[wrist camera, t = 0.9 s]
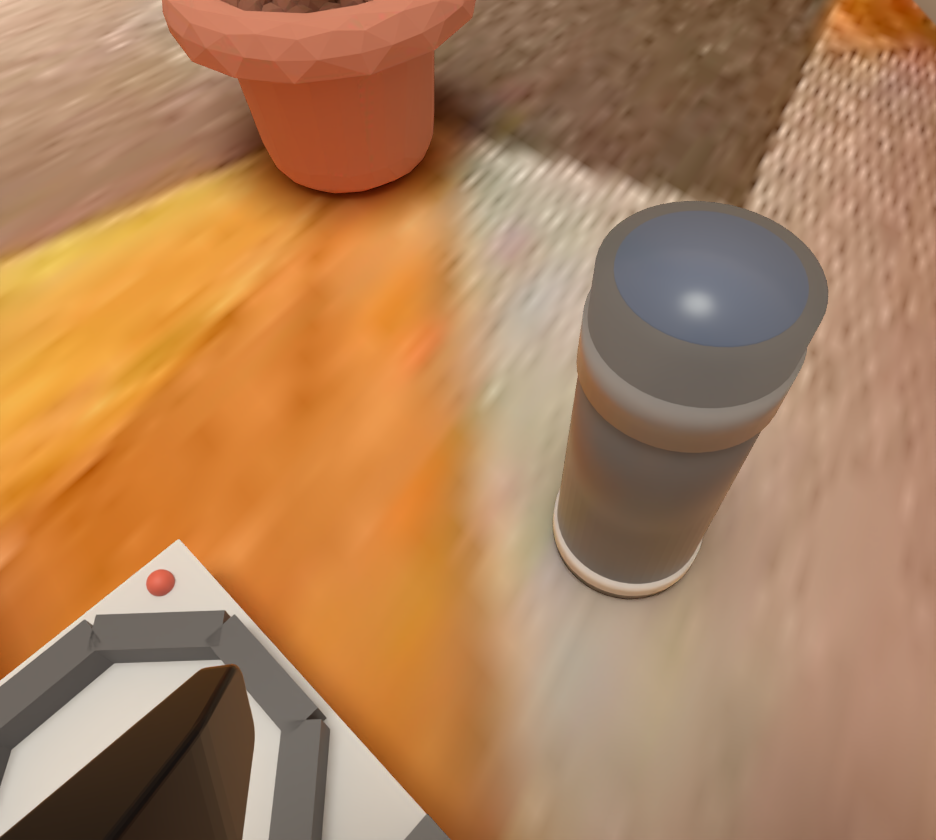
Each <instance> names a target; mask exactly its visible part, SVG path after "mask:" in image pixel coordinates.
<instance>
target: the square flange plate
mask: <svg viewBox="0 0 936 840" xmlns="http://www.w3.org/2000/svg"><path fill="white" fill-rule="evenodd" d="M228 664H235V665H237V666H238V667H239V668H240V670H241V672H242V674H243V678H244V682H245V687H246V691H247V695H248V699H249V704H250V708H251V712H252V717H253V721H254V728H255V744H254V752H253V760H252V768H251V776H250V783H249V791H248V799H247V807H246V815H245V823H244V830H243V838H242V840H451V839H450V838H449V837H448V836H447V835H446V834H445V833H444V832H443V831H442V829H441V828H440V827H439V826H438V825H437V824H436V823H435V822H434V821H433V819H432V818H431V817H430V816H429V815H428V814H426V813H425V812H424V811H423V810H422V808H421V807H420V806H419V805H418V804H417V803H416V802H415V801H414V800H413V798H412V797H411V796H410V795H409V794H408V793H407V792H406V791H405V790H404V788H403V787H402V786H401V785H400V784H399V783H398V782H397V781H396V780H395V778H394V777H393V776H392V775H391V774H390V773H389V772H388V771H387V770H386V768H385V767H384V766H383V765H382V764H381V763H380V762H379V761H378V760H377V758H376V757H375V756H374V755H373V754H372V753H371V752H370V751H369V750H368V748H367V747H366V746H365V745H364V744H363V743H362V742H361V741H360V740H359V738H358V737H357V736H356V735H355V734H354V733H353V732H352V731H351V730H350V728H349V727H348V726H347V725H346V724H345V723H344V722H343V721H342V720H341V718H340V717H339V716H338V715H337V714H336V713H335V712H334V711H333V710H332V708H331V707H330V706H329V705H328V704H327V703H326V702H325V701H324V700H323V698H322V697H321V696H320V695H319V694H318V693H317V692H316V691H315V690H314V688H313V687H312V686H311V685H310V684H309V683H308V682H307V681H306V680H305V678H304V677H303V676H302V675H301V674H300V673H299V672H298V671H297V670H296V668H295V667H294V666H293V665H292V664H291V663H290V662H289V661H288V660H287V658H286V657H285V656H284V655H283V654H282V653H281V652H280V651H279V650H278V648H277V647H276V646H275V645H274V644H273V643H272V642H271V641H270V640H269V638H268V637H267V636H266V635H265V634H264V633H263V632H262V631H261V630H260V628H259V627H258V626H257V625H256V624H255V623H254V622H253V621H252V620H251V618H250V617H249V616H248V615H247V614H246V613H245V612H244V611H243V610H242V608H241V607H240V606H239V605H238V604H237V603H236V602H235V601H234V600H233V598H232V597H231V596H230V595H229V594H228V593H227V592H226V591H225V590H224V588H223V587H222V586H221V585H220V584H219V583H218V582H217V581H216V580H215V578H214V577H213V576H212V575H211V574H210V573H209V572H208V571H207V569H206V568H205V567H204V566H203V565H202V564H201V563H200V562H199V561H198V559H197V558H196V557H195V556H194V555H193V554H192V553H191V552H190V551H189V549H188V548H187V547H186V546H185V545H184V544H183V543H182V542H181V541H180V539H178V540H177V541H175V542H174V543H173V544H172V545H170V546H169V547H168V548H167V549H165V550H164V551H163V552H162V553H160V554H159V555H158V556H156V557H155V558H154V559H153V560H151V561H150V562H149V563H148V564H146V565H145V566H144V567H143V568H141V569H140V570H139V571H138V572H136V573H135V574H134V575H133V576H131V577H130V578H129V579H128V580H126V581H125V582H124V583H123V584H121V585H120V586H119V587H117V588H116V589H115V590H114V591H112V592H111V593H110V594H109V595H107V596H106V597H105V598H104V599H102V600H101V601H100V602H99V603H97V604H96V605H95V606H94V607H92V608H91V609H90V610H89V611H87V612H86V613H85V614H84V615H82V616H81V617H80V618H78V619H77V620H76V621H75V622H73V623H72V624H71V625H70V626H68V627H67V628H66V629H65V630H63V631H62V632H61V633H60V634H58V635H57V636H56V637H55V638H53V639H52V640H51V641H50V642H48V643H47V644H46V645H45V646H43V647H42V648H41V649H39V650H38V651H37V652H36V653H34V654H33V655H32V656H31V657H29V658H28V659H27V660H26V661H24V662H23V663H22V664H21V665H19V666H18V667H17V668H16V669H14V670H13V671H12V672H11V673H9V674H8V675H7V676H6V677H4V678H3V679H2V680H0V836H2V835H3V834H4V833H5V832H6V831H8V830H9V829H10V828H11V827H12V826H14V825H15V824H16V823H17V822H18V821H20V820H21V819H22V818H23V817H24V816H26V815H27V814H28V813H29V812H30V811H32V810H33V809H34V808H35V807H36V806H38V805H39V804H40V803H41V802H42V801H44V800H45V799H46V798H47V797H48V796H49V795H51V794H52V793H53V792H54V791H55V790H57V789H58V788H59V787H60V786H61V785H63V784H64V783H65V782H66V781H67V780H69V779H70V778H71V777H72V776H73V775H75V774H76V773H77V772H78V771H79V770H81V769H82V768H83V767H84V766H85V765H86V764H88V763H89V762H90V761H91V760H92V759H94V758H95V757H96V756H97V755H98V754H100V753H101V752H102V751H103V750H104V749H106V748H107V747H108V746H109V745H110V744H112V743H113V742H114V741H115V740H116V739H117V738H119V737H120V736H121V735H122V734H123V733H125V732H126V731H127V730H128V729H129V728H131V727H132V726H133V725H134V724H135V723H137V722H138V721H139V720H140V719H141V718H143V717H144V716H145V715H146V714H147V713H149V712H150V711H151V710H152V709H153V708H154V707H156V706H157V705H158V704H159V703H160V702H162V701H163V700H164V699H165V698H166V697H168V696H169V695H170V694H171V693H172V692H174V691H175V690H176V689H177V688H178V687H180V686H181V685H182V684H183V683H184V682H185V681H187V680H188V679H189V678H190V677H191V676H193V675H194V674H195V673H196V672H198V671H199V670H200V669H202V668H206V667H213V666H220V665H228Z"/></svg>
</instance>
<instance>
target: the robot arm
mask: <svg viewBox="0 0 936 840" xmlns="http://www.w3.org/2000/svg"><path fill="white" fill-rule="evenodd" d="M254 744H255V728H254V721H253V717H252V712H251V708H250V704H249V699H248V695H247V691H246V687H245V682H244V678H243V674H242V672H241V670H240V668H239V667H238V666H237V665H235V664H228V665H220V666H213V667H206V668H202V669H200V670H199V671H198V672H196V673H195V674H194V675H193V676H191V677H190V678H189V679H188V680H187V681H185V682H184V683H183V684H182V685H181V686H180V687H178V688H177V689H176V690H175V691H174V692H172V693H171V694H170V695H169V696H168V697H166V698H165V699H164V700H163V701H162V702H160V703H159V704H158V705H157V706H156V707H154V708H153V709H152V710H151V711H150V712H149V713H147V714H146V715H145V716H144V717H143V718H141V719H140V720H139V721H138V722H137V723H135V724H134V725H133V726H132V727H131V728H129V729H128V730H127V731H126V732H125V733H123V734H122V735H121V736H120V737H119V738H117V739H116V740H115V741H114V742H113V743H112V744H110V745H109V746H108V747H107V748H106V749H104V750H103V751H102V752H101V753H100V754H98V755H97V756H96V757H95V758H94V759H92V760H91V761H90V762H89V763H88V764H86V765H85V766H84V767H83V768H82V769H81V770H79V771H78V772H77V773H76V774H75V775H73V776H72V777H71V778H70V779H69V780H67V781H66V782H65V783H64V784H63V785H61V786H60V787H59V788H58V789H57V790H55V791H54V792H53V793H52V794H51V795H49V796H48V797H47V798H46V799H45V800H44V801H42V802H41V803H40V804H39V805H38V806H36V807H35V808H34V809H33V810H32V811H30V812H29V813H28V814H27V815H26V816H24V817H23V818H22V819H21V820H20V821H18V822H17V823H16V824H15V825H14V826H12V827H11V828H10V829H9V830H8V831H6V832H5V833H4V834H3V835H2V836H0V840H242V838H243V830H244V823H245V815H246V807H247V799H248V791H249V783H250V776H251V768H252V760H253V752H254Z"/></svg>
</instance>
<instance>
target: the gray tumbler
mask: <svg viewBox="0 0 936 840" xmlns="http://www.w3.org/2000/svg"><path fill="white" fill-rule="evenodd" d="M827 304H828V286H827V280H826V277H825V274H824V271H823V269H822V267H821V265H820V264H819V262H818V260H817V258H816V257H815V256H814V254H813V253H812V252H811V250H810V249H809V248H808V247H807V246H806V245H805V244H804V243H803V242H802V241H801V240H800V239H799V238H798V237H796V236H795V235H794V234H793V233H792V232H790V231H789V230H787V229H786V228H784V227H783V226H781V225H780V224H778V223H776V222H774V221H772V220H771V219H769V218H767V217H764V216H762V215H760V214H757V213H755V212H752V211H749V210H746V209H743V208H740V207H736V206H732V205H727V204H721V203H715V202H704V201H683V202H672V203H667V204H661V205H657V206H654V207H650V208H647V209H644V210H642V211H639V212H637V213H635V214H633V215H631V216H629V217H628V218H626V219H625V220H623V221H622V222H620V223H619V224H618V225H616V226H615V227H614V228H613V229H612V230H611V231H610V232H609V234H608V235H607V236H606V238H605V239H604V240H603V242H602V244H601V246H600V248H599V250H598V254H597V257H596V261H595V268H594V274H593V281H592V287H591V290H590V292H589V294H588V296H587V299H586V302H585V305H584V311H583V318H582V325H581V332H580V338H579V345H578V352H577V372H578V378H577V385H576V391H575V398H574V404H573V410H572V417H571V423H570V430H569V436H568V443H567V449H566V456H565V462H564V469H563V475H562V482H561V488H560V490H559V492H558V495H557V498H556V502H555V508H554V515H553V532H554V538H555V541H556V544H557V548H558V551H559V553H560V555H561V557H562V560H563V561H564V563H565V564H566V566H567V567H568V569H569V570H570V571H571V572H572V573H573V574H574V575H575V576H576V577H577V578H578V579H579V580H580V581H581V582H583V583H584V584H586V585H587V586H588V587H590V588H592V589H594V590H596V591H598V592H600V593H603V594H605V595H609V596H612V597H617V598H624V599H636V598H644V597H648V596H652V595H655V594H657V593H660V592H662V591H663V590H665V589H667V588H668V587H670V586H672V585H673V584H674V583H676V582H677V581H678V580H680V579H681V578H682V576H683V575H684V574H685V573H686V572H687V571H688V569H689V568H690V566H691V565H692V563H693V561H694V559H695V557H696V555H697V553H698V551H699V549H700V547H701V543H702V540H703V536H704V534H705V532H706V531H707V529H708V527H709V525H710V523H711V521H712V520H713V518H714V516H715V514H716V512H717V511H718V509H719V507H720V505H721V503H722V501H723V500H724V498H725V496H726V494H727V492H728V490H729V489H730V487H731V485H732V483H733V481H734V480H735V478H736V476H737V474H738V472H739V470H740V469H741V467H742V465H743V463H744V461H745V460H746V458H747V456H748V454H749V452H750V450H751V449H752V447H753V445H754V443H755V441H756V439H757V438H758V436H759V434H760V432H761V431H762V430H763V429H764V428H765V427H766V426H767V425H768V424H769V423H770V421H771V420H772V418H773V417H774V416H775V414H776V412H777V411H778V409H779V407H780V405H781V404H782V402H783V400H784V398H785V396H786V395H787V393H788V391H789V389H790V387H791V386H792V384H793V382H794V380H795V379H796V377H797V375H798V373H799V371H800V369H801V367H802V365H803V363H804V360H805V356H806V352H807V347H808V345H809V343H810V341H811V339H812V337H813V336H814V334H815V332H816V330H817V328H818V327H819V325H820V323H821V321H822V319H823V317H824V314H825V312H826V308H827Z"/></svg>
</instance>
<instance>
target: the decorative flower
mask: <svg viewBox="0 0 936 840" xmlns="http://www.w3.org/2000/svg"><path fill="white" fill-rule="evenodd" d="M475 1H476V0H162V6H163V14H164V17H165V19H166V22H167V25H168V28H169V31H170V33H171V34H172V35H173V37H174V38H175V39H176V41H177V42H178V43H179V45H180V46H181V47H182V49H183V50H184V51H185V53H186V54H187V55H188V57H189V58H190V59H191V61H192V62H195V63H197V64H200V65H203V66H205V67H208V68H210V69H213V70H216V71H218V72H221V73H223V74H226V75H229V76H231V77H234V78H238V80H239V83H240V85H241V88H242V90H243V93H244V96H245V98H246V101H247V103H248V106H249V108H250V111H251V114H252V116H253V119H254V121H255V124H256V126H257V129H258V131H259V134H260V137H261V139H262V142H263V144H264V146H265V147H266V149H267V151H268V153H269V154H270V156H271V158H272V160H273V161H274V163H275V165H276V167H277V168H278V169H279V170H281V171H282V172H283V173H284V174H285V175H287V176H288V177H289V178H290V179H291V180H293V181H294V182H295V183H298V184H300V185H303V186H306V187H309V188H312V189H315V190H320V191H325V192H330V193H347V192H362V191H366V190H369V189H372V188H375V187H378V186H381V185H383V184H386V183H389V182H392V181H394V180H397V179H398V178H400V177H402V176H404V175H406V174H408V173H409V172H411V171H412V170H413V169H414V168H415V167H416V166H417V165H418V163H419V162H420V161H421V160H422V159H423V158H424V156H425V154H426V152H427V149H428V147H429V145H430V142H431V139H432V136H433V127H434V50H435V49H437V48H438V47H439V46H440V45H441V44H442V43H444V42H445V41H446V40H447V39H448V38H449V37H450V36H452V35H453V34H454V33H455V32H456V31H457V30H459V29H460V28H461V27H462V26H463V25H464V24H466V23H467V22H468V21H469V20H470V19H471V18H472V17H473V11H474V6H475Z"/></svg>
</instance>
